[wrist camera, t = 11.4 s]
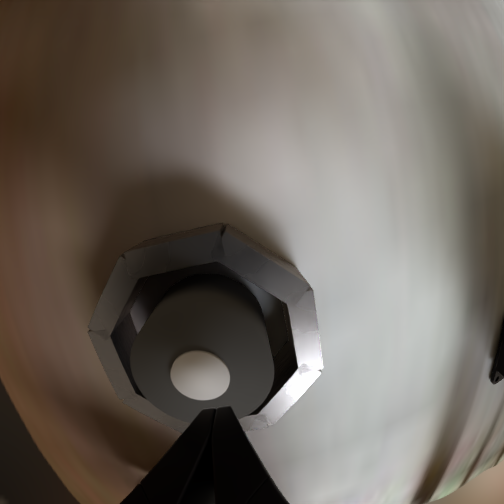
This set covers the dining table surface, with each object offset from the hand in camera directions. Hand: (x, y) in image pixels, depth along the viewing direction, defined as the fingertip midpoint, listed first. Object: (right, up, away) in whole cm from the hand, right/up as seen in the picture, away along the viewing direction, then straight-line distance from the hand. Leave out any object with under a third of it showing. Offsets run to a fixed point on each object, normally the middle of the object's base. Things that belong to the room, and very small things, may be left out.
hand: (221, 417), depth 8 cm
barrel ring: (-1, +1, +6) cm, 6 cm away
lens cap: (-1, +1, +6) cm, 6 cm away
